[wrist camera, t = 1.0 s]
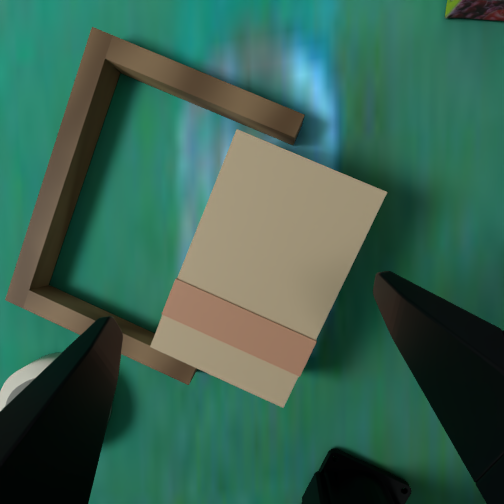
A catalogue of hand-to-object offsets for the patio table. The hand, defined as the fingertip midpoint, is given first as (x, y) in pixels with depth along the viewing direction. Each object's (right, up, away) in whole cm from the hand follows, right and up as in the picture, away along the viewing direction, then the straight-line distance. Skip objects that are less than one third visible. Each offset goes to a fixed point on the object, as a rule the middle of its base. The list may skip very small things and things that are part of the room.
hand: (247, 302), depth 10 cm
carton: (+1, +1, +11) cm, 11 cm away
